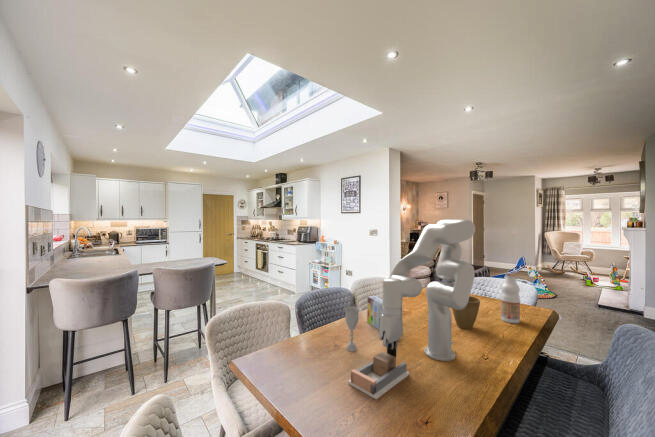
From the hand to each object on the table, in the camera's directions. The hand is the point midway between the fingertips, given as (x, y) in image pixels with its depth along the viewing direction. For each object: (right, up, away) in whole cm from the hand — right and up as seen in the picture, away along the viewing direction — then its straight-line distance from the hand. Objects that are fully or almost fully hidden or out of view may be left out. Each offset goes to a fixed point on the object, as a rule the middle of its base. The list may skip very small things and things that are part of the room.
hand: (391, 357), depth 107 cm
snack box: (+4, -6, +43) cm, 44 cm away
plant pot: (+52, -6, +46) cm, 69 cm away
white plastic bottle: (+83, -7, +56) cm, 101 cm away
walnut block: (-3, -4, -4) cm, 6 cm away
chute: (-6, -5, -6) cm, 9 cm away
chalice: (-14, -5, +18) cm, 24 cm away
